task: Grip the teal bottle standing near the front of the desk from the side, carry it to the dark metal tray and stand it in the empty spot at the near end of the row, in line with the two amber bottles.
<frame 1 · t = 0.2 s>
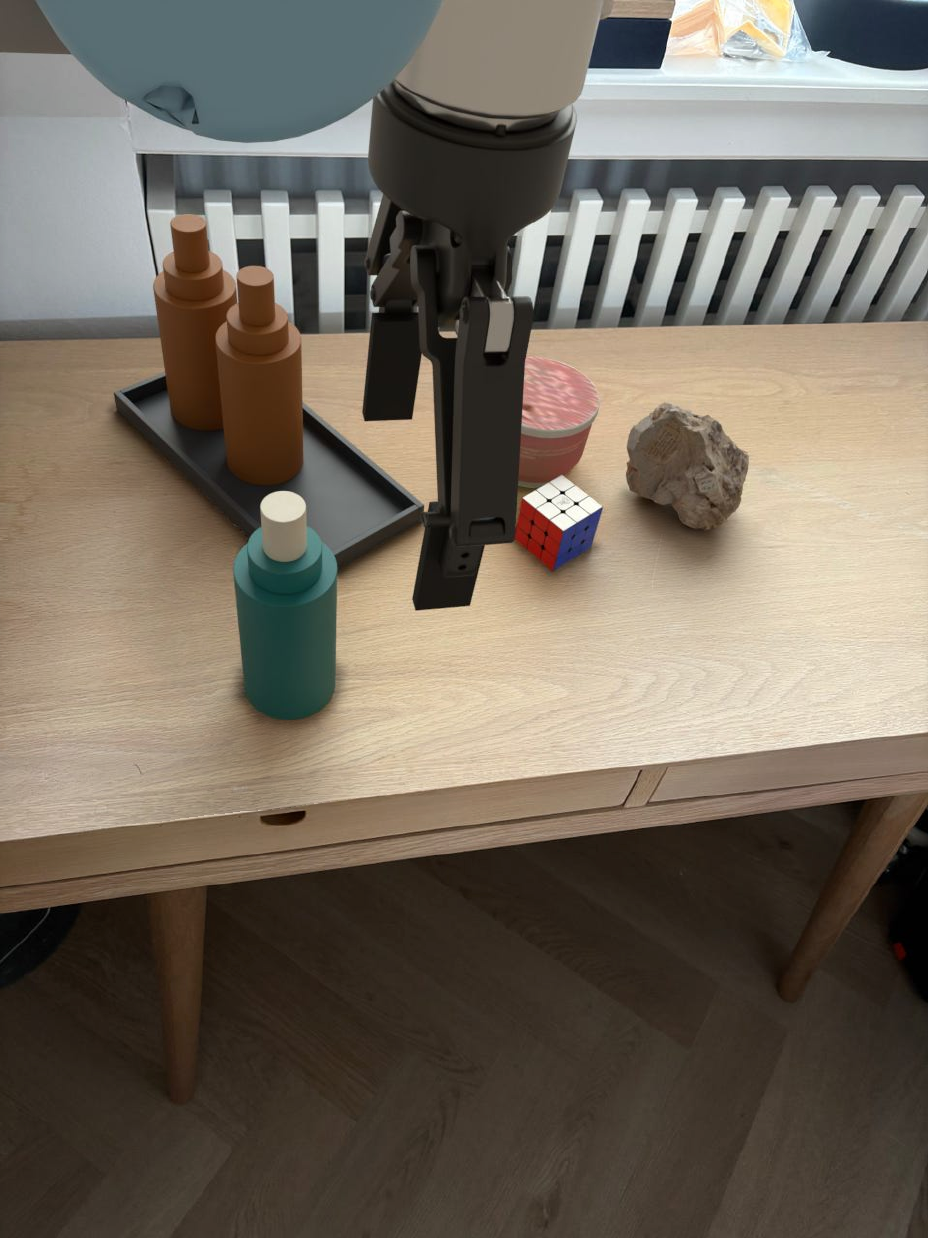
hand: (412, 502, 53), 27 cm above the table, tool pointing down, fingers open, 13 cm apart
container: (527, 461, 97), on the table
bottle far: (207, 407, 96), resting on tray
rubik's cube: (552, 544, 90), on the table
tray: (265, 463, 93), on the table
bottle: (290, 683, 78), on the table
rock: (678, 508, 95), on the table
bottle mid: (265, 459, 92), resting on tray
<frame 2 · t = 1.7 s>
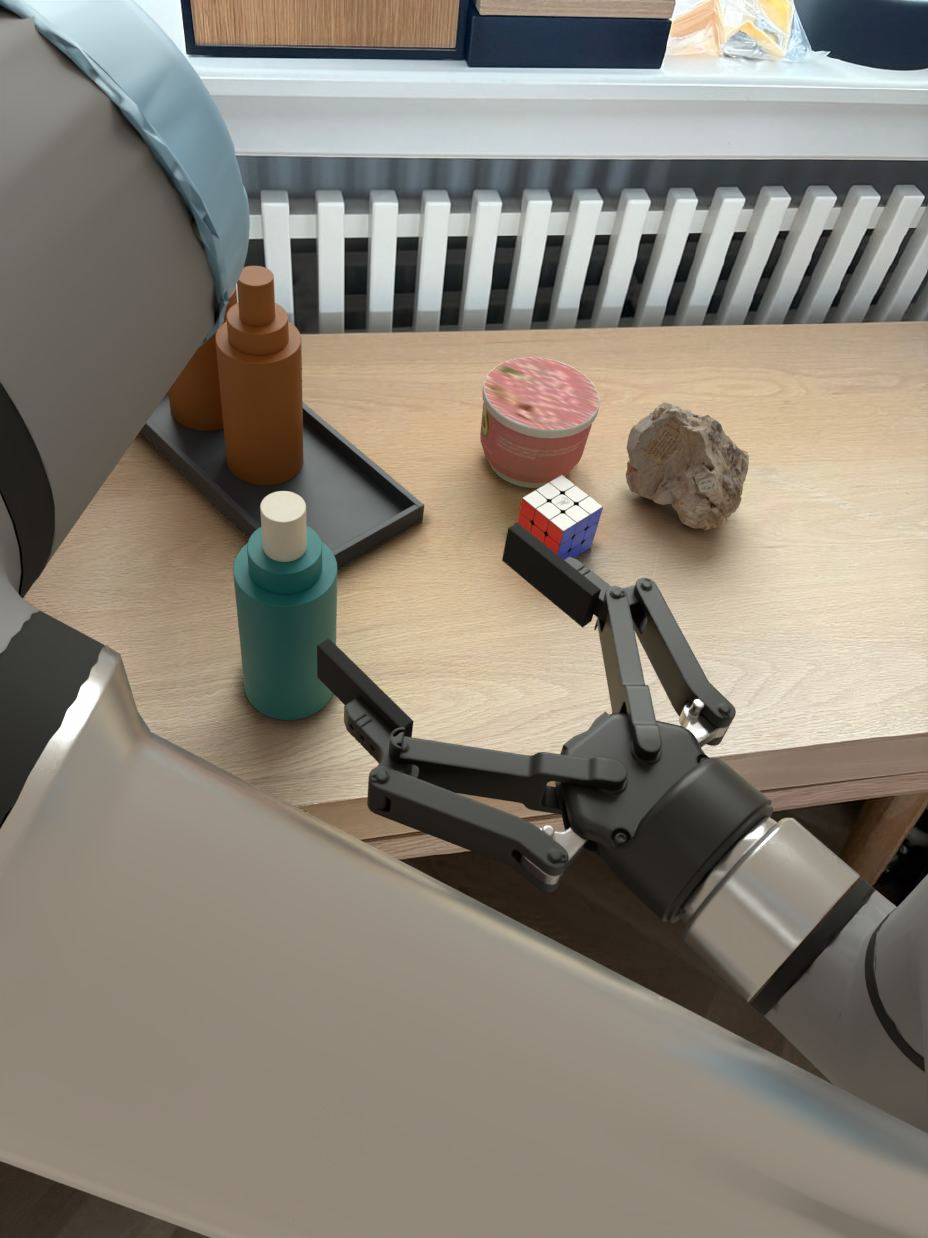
hand: (421, 595, 56), 22 cm above the table, tool horizontal, fingers open, 13 cm apart
nothing on the table moved.
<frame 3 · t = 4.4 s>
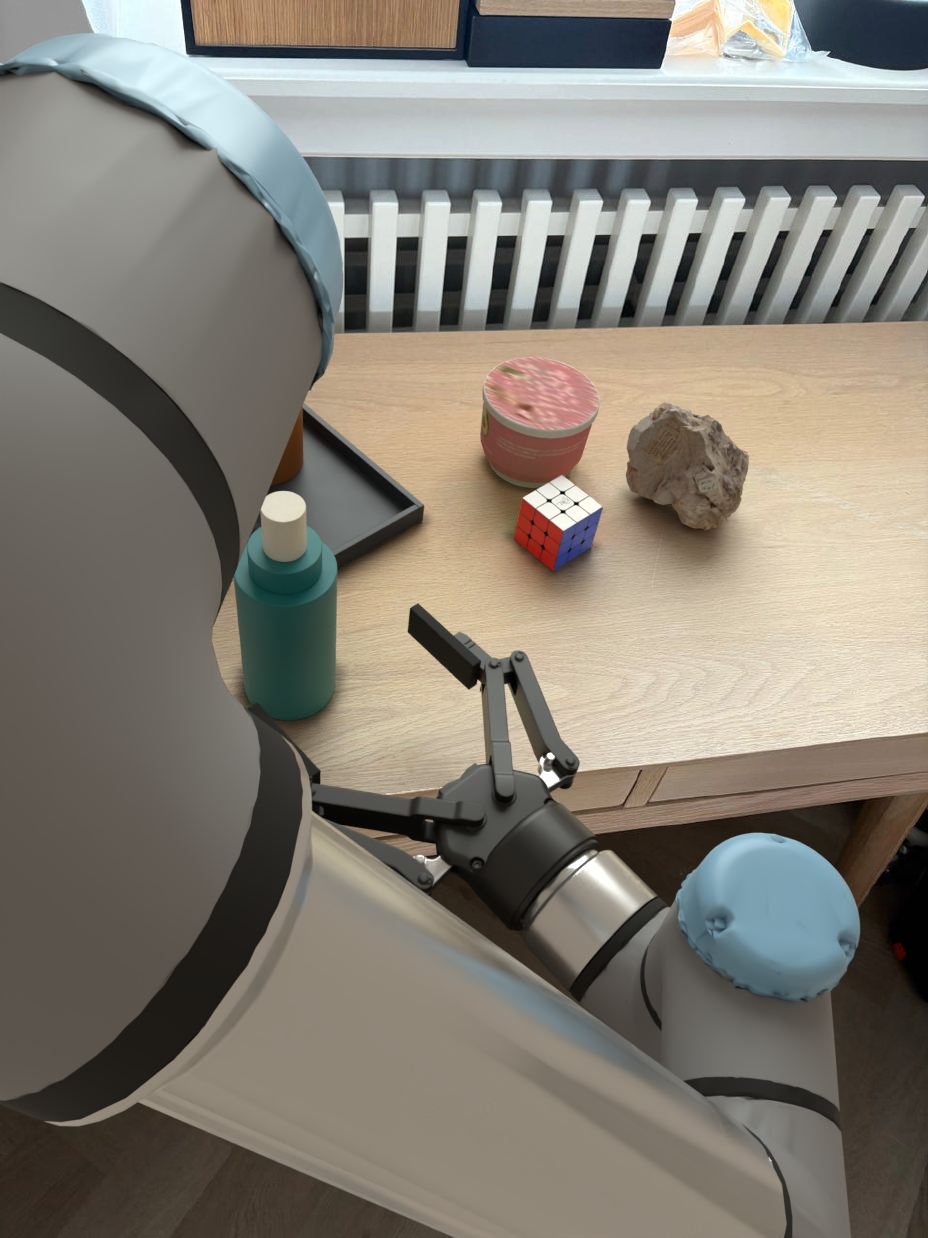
hand: (336, 664, 69), 8 cm above the table, tool horizontal, fingers open, 13 cm apart
nothing on the table moved.
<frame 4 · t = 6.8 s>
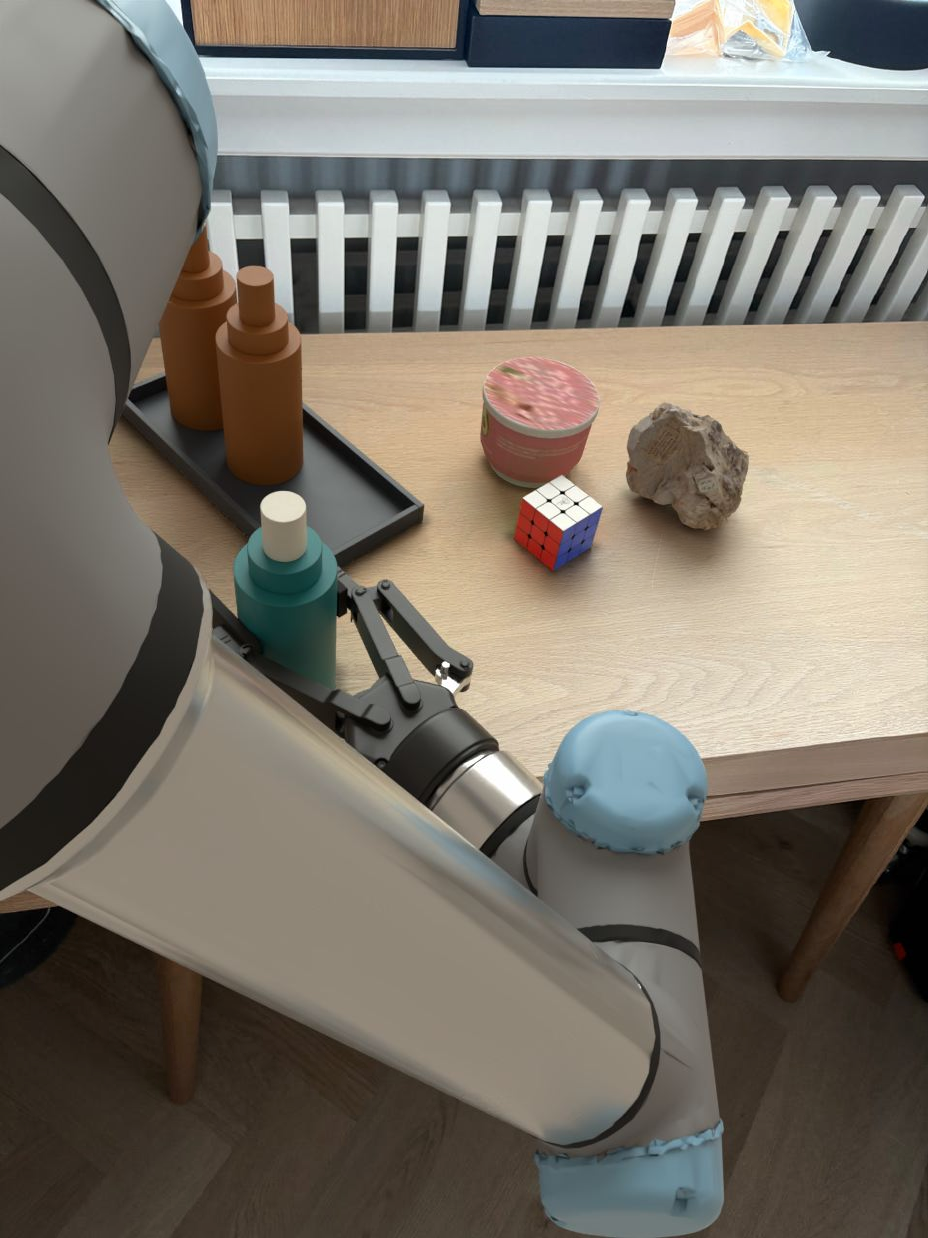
hand: (245, 573, 74), 8 cm above the table, tool horizontal, fingers closed on bottle, 7 cm apart
bottle: (290, 683, 78), on the table, touching gripper
everything else where it was.
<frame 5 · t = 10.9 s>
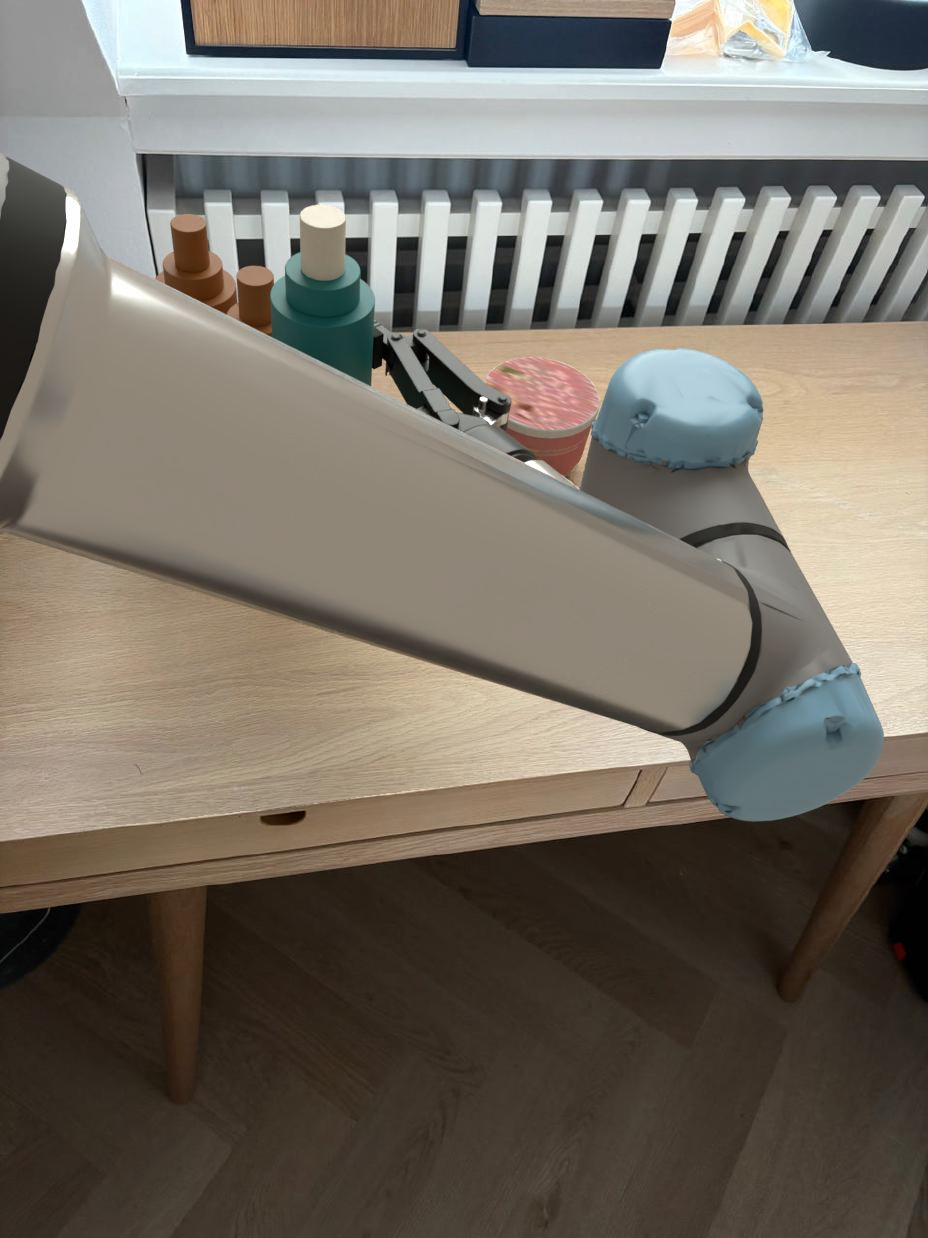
hand: (279, 324, 73), 20 cm above the table, tool horizontal, fingers closed on bottle, 7 cm apart
bottle: (323, 448, 77), point 12 cm above the table, touching gripper
everything else where it was.
when the fingers open (8 cm above the table, at t = 15.0 s): bottle stays where it is, resting on tray.
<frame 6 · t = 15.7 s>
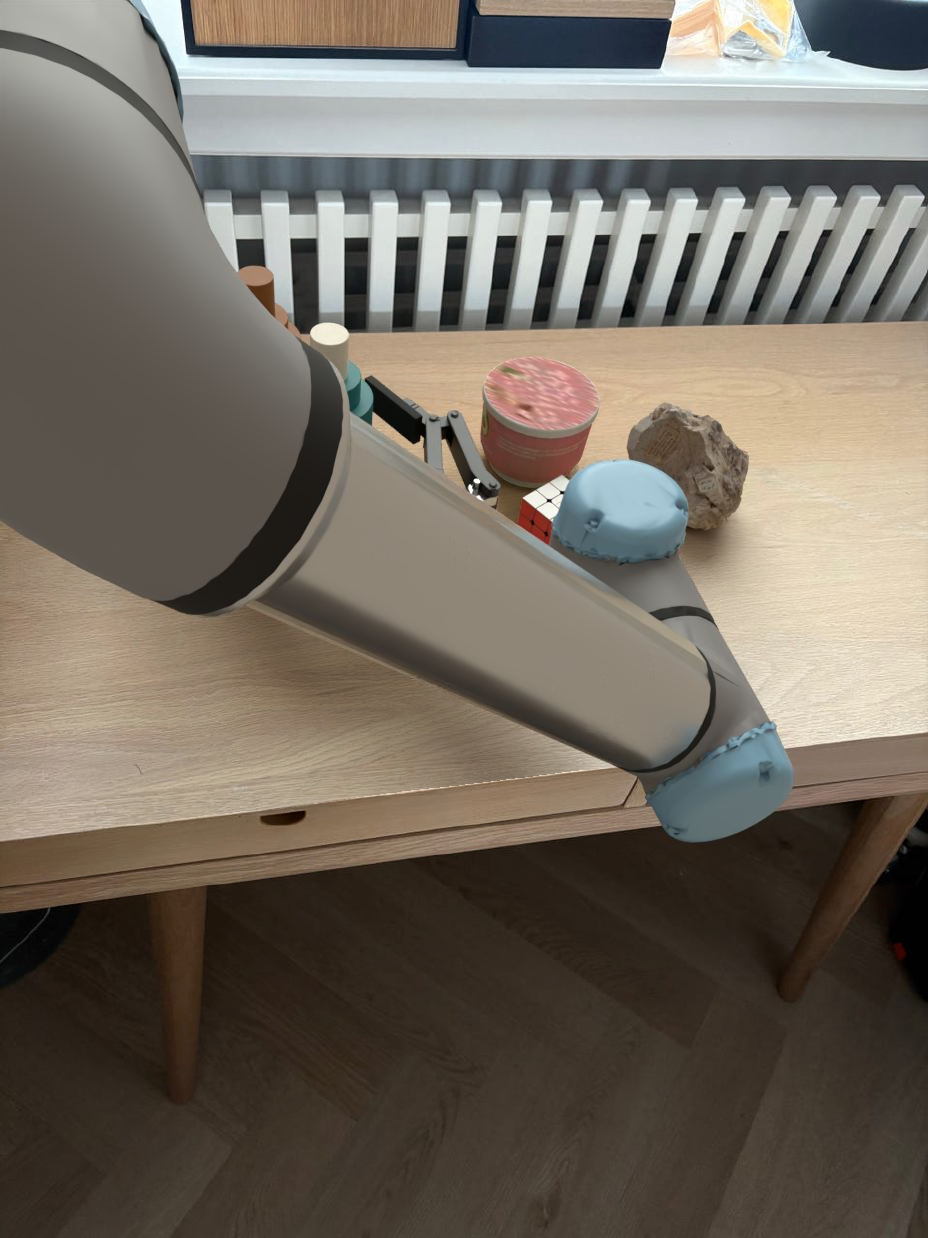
hand: (302, 419, 84), 9 cm above the table, tool horizontal, fingers open, 13 cm apart
bottle: (328, 516, 89), resting on tray
everything else where it was.
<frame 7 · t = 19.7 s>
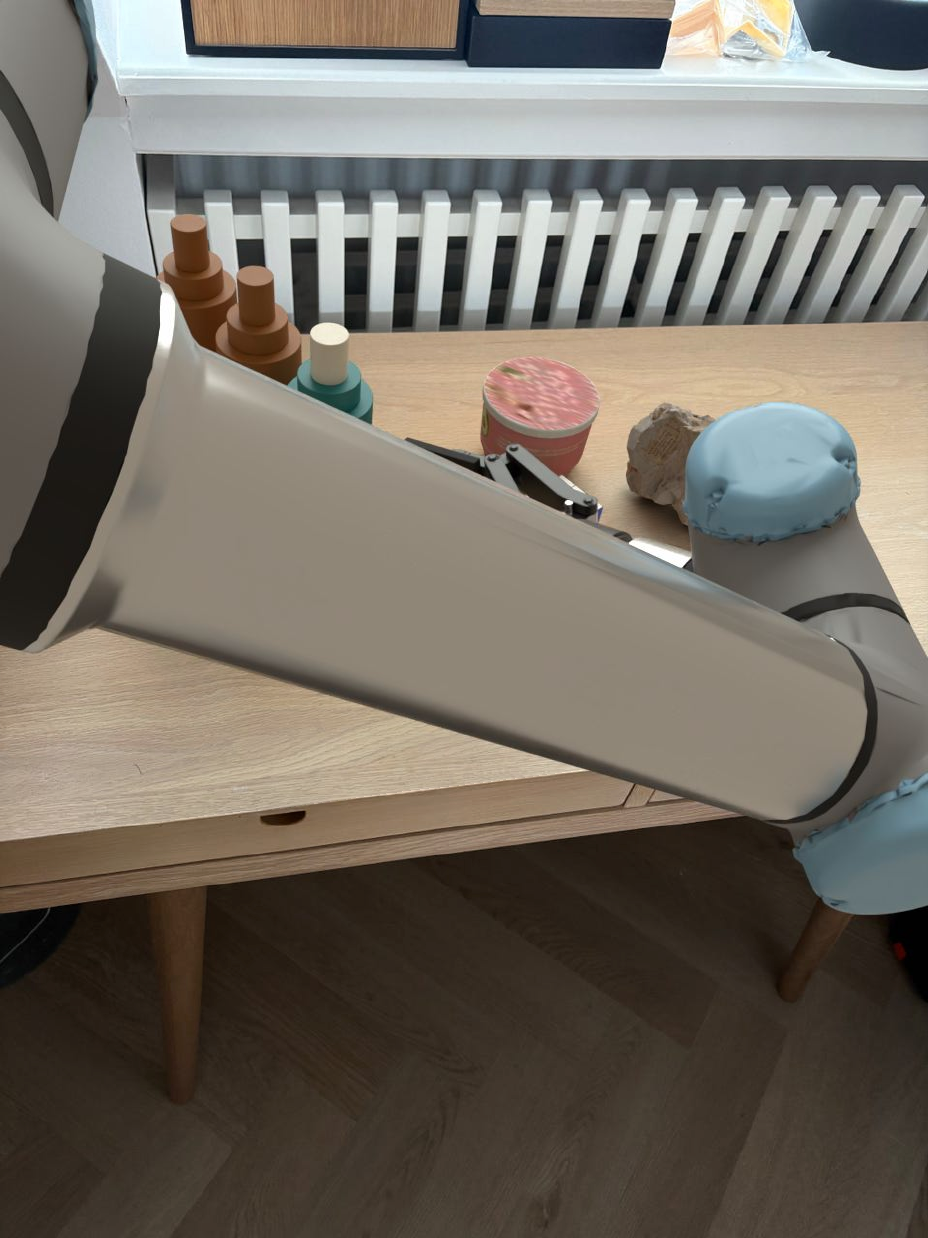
hand: (347, 502, 72), 13 cm above the table, tool horizontal, fingers open, 13 cm apart
nothing on the table moved.
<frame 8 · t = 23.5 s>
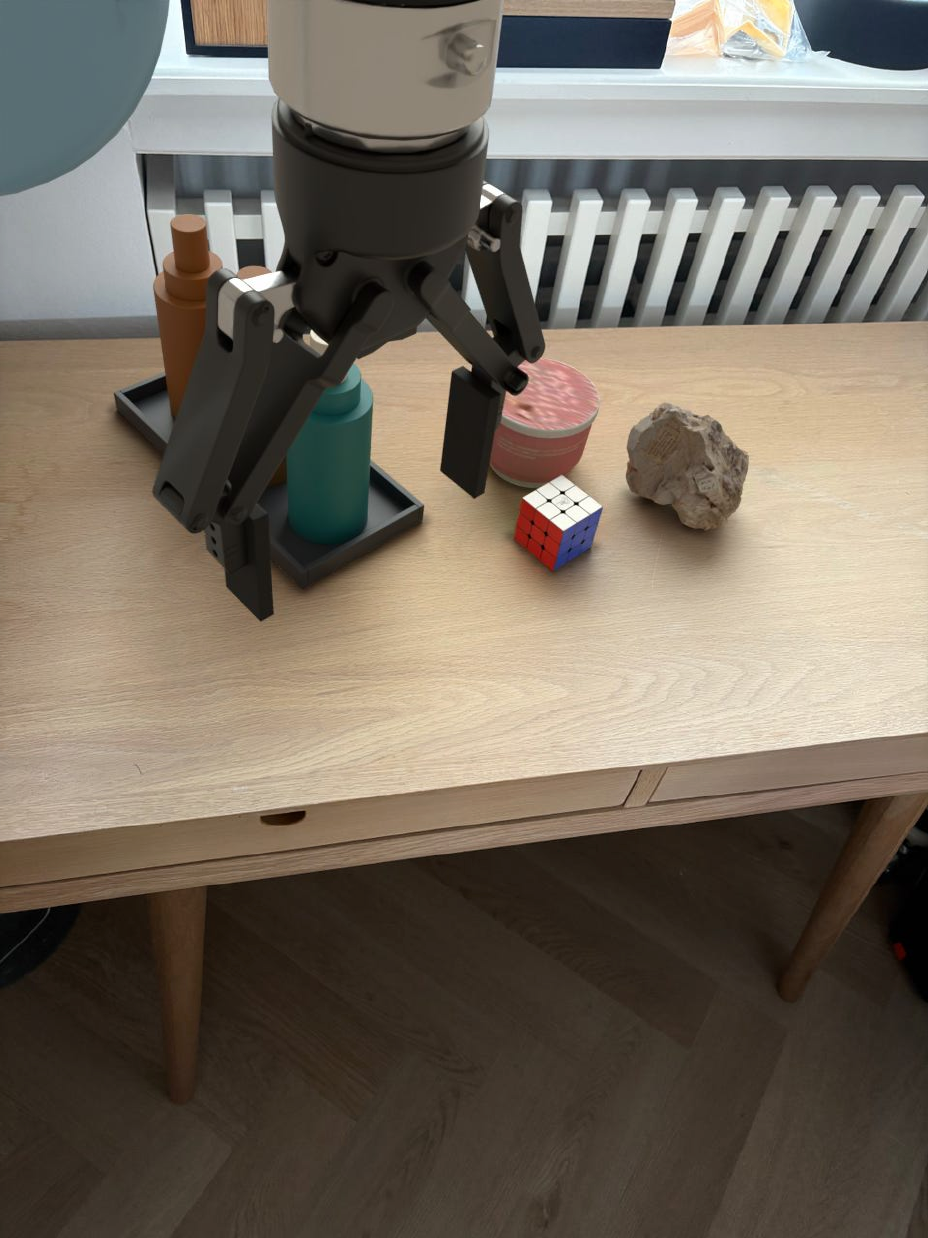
hand: (363, 538, 51), 27 cm above the table, tool pointing down, fingers open, 13 cm apart
nothing on the table moved.
at the end: bottle 0.0 cm from the target spot on the table beside the bottle far, resting on tray; bottle inside the target area in the tray (0.0 cm from its centre), point 0.5 cm above the tray's base; bottle tilted 0° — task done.
